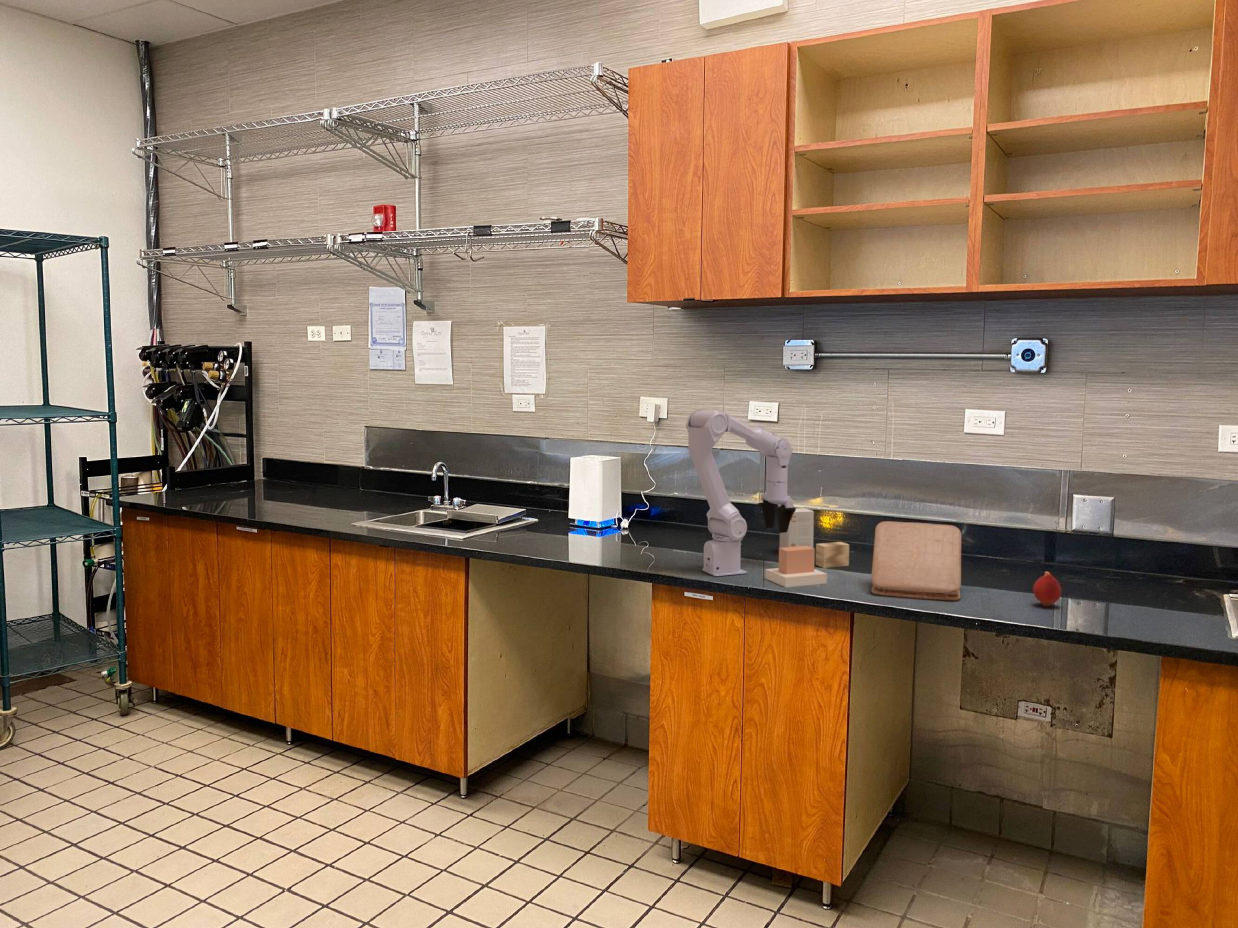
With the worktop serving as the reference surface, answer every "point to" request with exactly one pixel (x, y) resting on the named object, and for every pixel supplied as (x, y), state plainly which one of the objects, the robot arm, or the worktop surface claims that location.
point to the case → (917, 561)
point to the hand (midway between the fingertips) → (776, 530)
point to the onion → (1047, 589)
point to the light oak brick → (832, 554)
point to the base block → (796, 578)
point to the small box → (799, 529)
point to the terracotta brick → (796, 559)
